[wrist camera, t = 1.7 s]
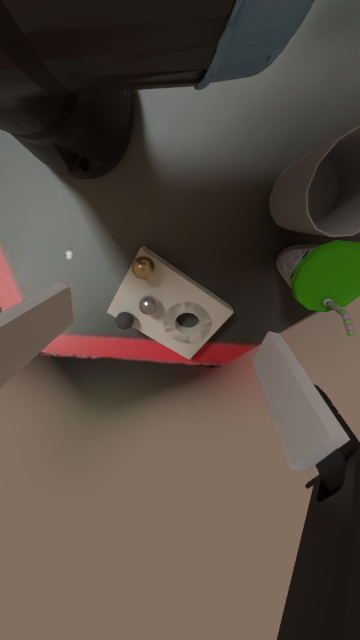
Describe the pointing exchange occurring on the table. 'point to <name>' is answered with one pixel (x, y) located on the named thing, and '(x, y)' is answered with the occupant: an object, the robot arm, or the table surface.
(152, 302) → the steel ball
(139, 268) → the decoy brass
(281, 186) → the cup
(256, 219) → the table surface
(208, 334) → the plate
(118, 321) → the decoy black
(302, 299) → the cup
